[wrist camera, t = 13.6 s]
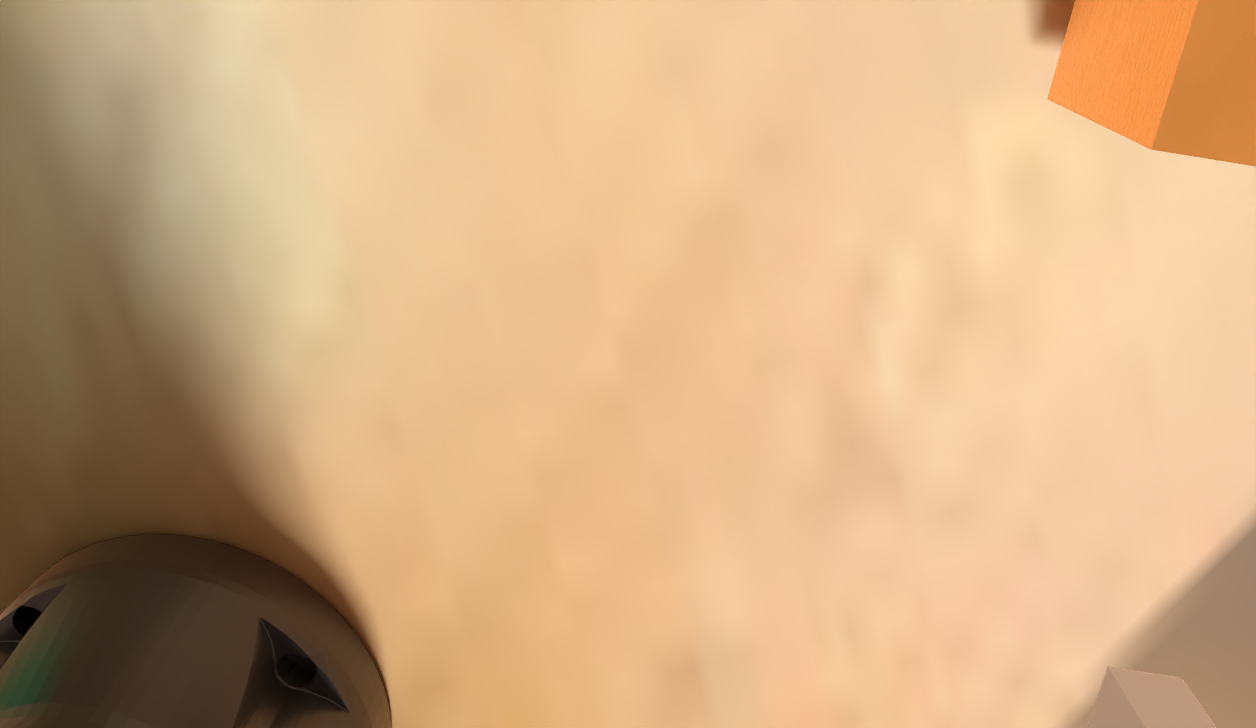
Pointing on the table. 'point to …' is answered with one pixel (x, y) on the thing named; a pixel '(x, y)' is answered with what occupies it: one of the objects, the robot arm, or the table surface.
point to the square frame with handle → (1165, 73)
